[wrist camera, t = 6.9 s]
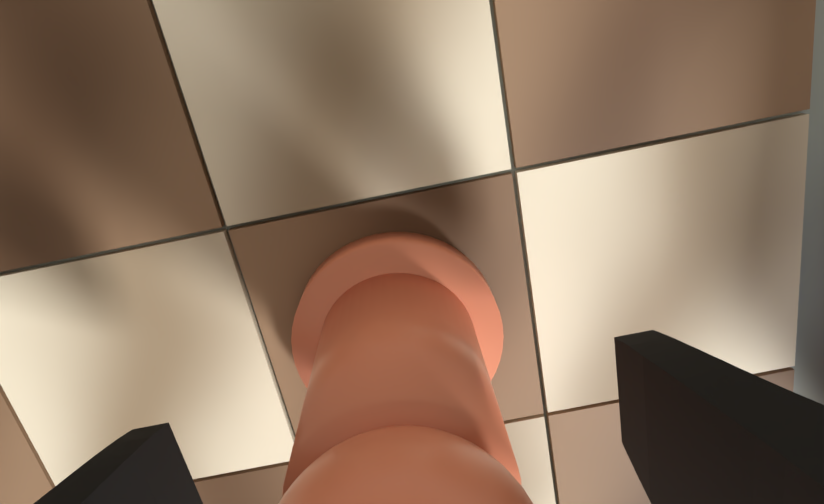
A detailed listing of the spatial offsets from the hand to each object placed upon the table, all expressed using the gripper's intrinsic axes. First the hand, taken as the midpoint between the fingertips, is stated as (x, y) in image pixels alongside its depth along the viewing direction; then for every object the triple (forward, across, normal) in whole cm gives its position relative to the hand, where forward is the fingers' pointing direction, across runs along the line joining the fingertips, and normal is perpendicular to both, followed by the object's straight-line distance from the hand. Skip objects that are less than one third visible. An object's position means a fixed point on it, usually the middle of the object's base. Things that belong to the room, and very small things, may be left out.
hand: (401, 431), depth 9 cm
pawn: (+3, 0, 0) cm, 4 cm away
